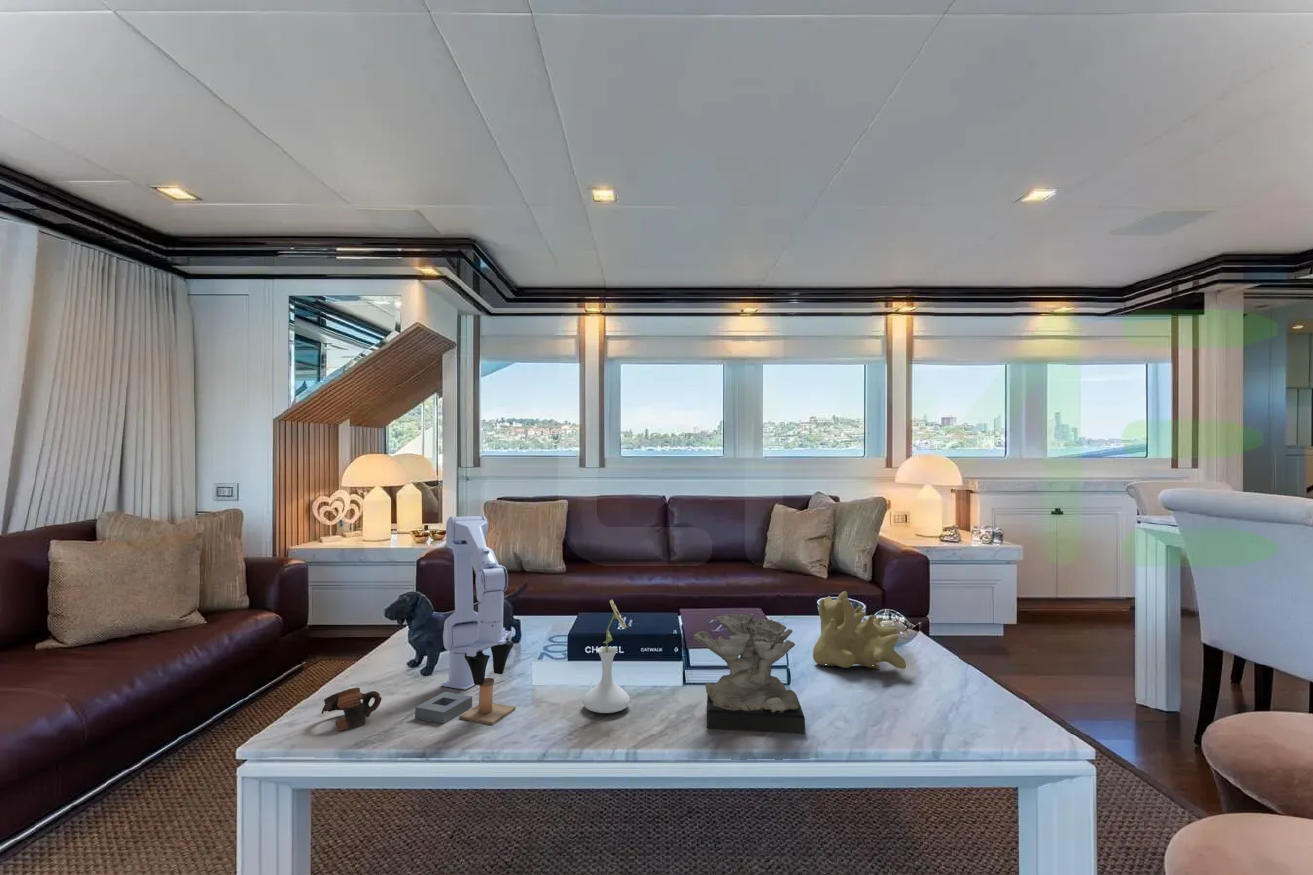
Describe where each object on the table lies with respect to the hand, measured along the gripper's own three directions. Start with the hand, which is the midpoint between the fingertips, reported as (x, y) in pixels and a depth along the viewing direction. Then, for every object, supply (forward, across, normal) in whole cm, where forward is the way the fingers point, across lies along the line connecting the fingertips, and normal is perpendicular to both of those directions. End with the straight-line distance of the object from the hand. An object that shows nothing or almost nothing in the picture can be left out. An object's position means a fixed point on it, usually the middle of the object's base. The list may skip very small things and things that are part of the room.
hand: (488, 678), depth 138 cm
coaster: (+8, 0, 0) cm, 8 cm away
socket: (+8, -3, +10) cm, 13 cm away
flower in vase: (+8, +14, -24) cm, 29 cm away
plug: (+7, 0, 0) cm, 7 cm away
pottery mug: (+8, -14, +26) cm, 31 cm away
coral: (+8, +23, -56) cm, 61 cm away
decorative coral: (+8, +67, -80) cm, 105 cm away
